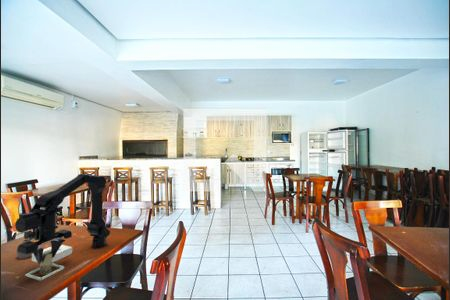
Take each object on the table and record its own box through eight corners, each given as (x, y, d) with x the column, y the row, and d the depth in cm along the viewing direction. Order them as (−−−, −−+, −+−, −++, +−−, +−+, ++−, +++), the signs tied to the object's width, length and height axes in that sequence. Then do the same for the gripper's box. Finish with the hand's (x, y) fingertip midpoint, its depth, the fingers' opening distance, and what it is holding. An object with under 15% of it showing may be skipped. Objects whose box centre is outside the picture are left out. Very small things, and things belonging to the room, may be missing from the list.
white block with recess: (57, 251, 115) (57, 243, 115) (72, 254, 112) (72, 247, 112) (31, 262, 104) (31, 254, 104) (47, 266, 101) (47, 258, 101)
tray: (50, 265, 102) (50, 262, 102) (64, 269, 99) (64, 266, 99) (25, 277, 92) (25, 274, 92) (40, 282, 89) (40, 278, 89)
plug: (47, 268, 98) (48, 250, 98) (53, 270, 97) (55, 252, 97) (37, 273, 94) (38, 254, 94) (44, 275, 93) (45, 256, 93)
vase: (36, 258, 108) (37, 240, 108) (17, 263, 103) (17, 244, 103) (34, 253, 112) (34, 236, 112) (15, 257, 107) (16, 239, 107)
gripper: (55, 215, 107) (54, 248, 107) (8, 228, 89) (7, 267, 89) (73, 218, 103) (72, 252, 104) (27, 233, 86) (26, 273, 86)
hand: (46, 260), depth 96 cm, fingers open, 5 cm apart
